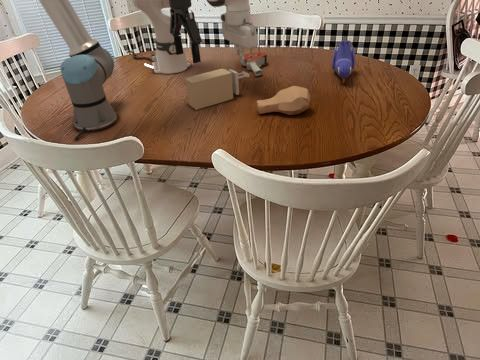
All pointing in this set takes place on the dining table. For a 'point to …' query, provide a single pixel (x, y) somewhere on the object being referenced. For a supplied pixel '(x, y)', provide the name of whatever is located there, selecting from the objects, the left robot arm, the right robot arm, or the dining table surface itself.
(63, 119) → the dining table surface
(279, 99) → the squash
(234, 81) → the drawer
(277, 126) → the dining table surface
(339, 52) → the toy
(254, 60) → the grey and red gadget
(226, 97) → the beige rectangular block
